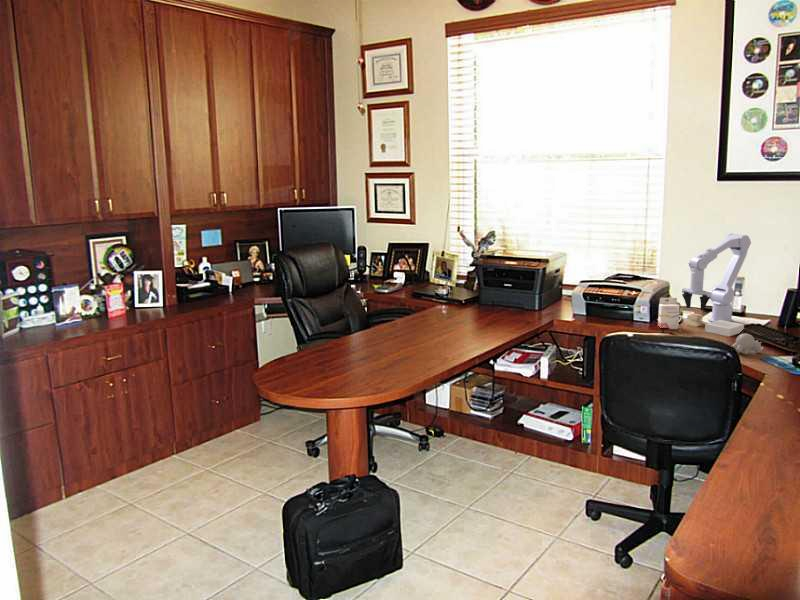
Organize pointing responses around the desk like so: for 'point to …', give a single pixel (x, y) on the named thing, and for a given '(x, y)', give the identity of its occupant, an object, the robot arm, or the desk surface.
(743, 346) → the round bodied animal figurine
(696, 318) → the beech block
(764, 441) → the desk surface
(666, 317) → the ink cartridge box
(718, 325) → the grey box
